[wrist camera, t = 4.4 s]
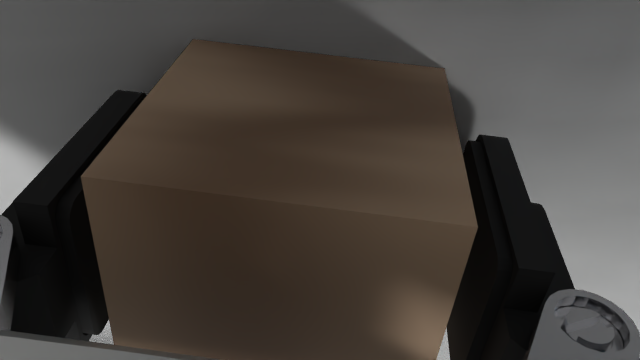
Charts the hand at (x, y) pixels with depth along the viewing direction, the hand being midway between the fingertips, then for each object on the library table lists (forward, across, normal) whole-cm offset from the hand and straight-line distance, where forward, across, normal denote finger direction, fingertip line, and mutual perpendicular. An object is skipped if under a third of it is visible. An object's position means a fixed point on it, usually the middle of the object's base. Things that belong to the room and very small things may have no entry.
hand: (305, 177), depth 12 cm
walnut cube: (+1, 0, 0) cm, 1 cm away
